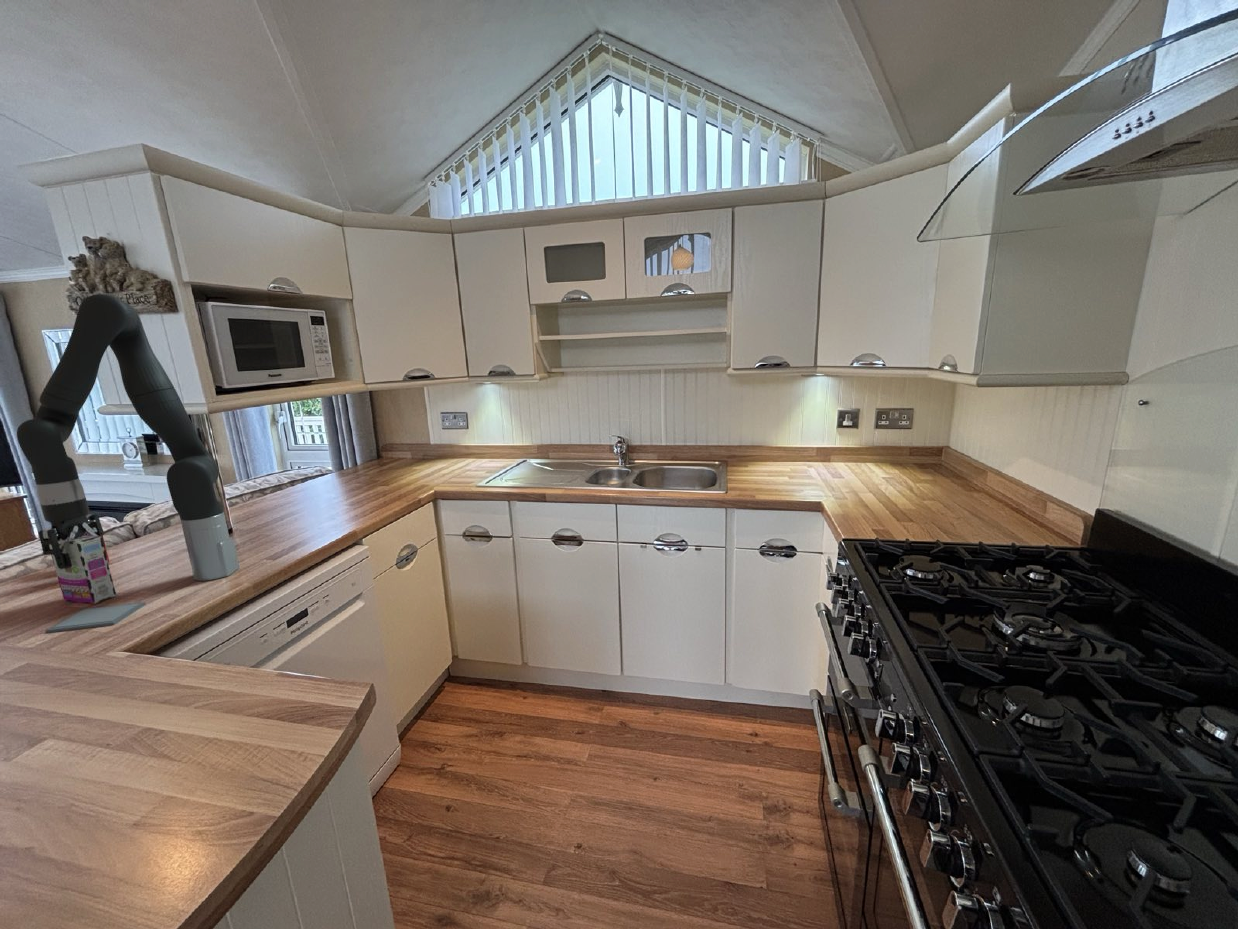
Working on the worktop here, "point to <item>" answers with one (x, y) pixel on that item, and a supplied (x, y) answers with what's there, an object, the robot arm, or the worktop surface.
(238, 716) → the worktop surface
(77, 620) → the grey flat slab
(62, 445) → the robot arm
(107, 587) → the candy bar box
